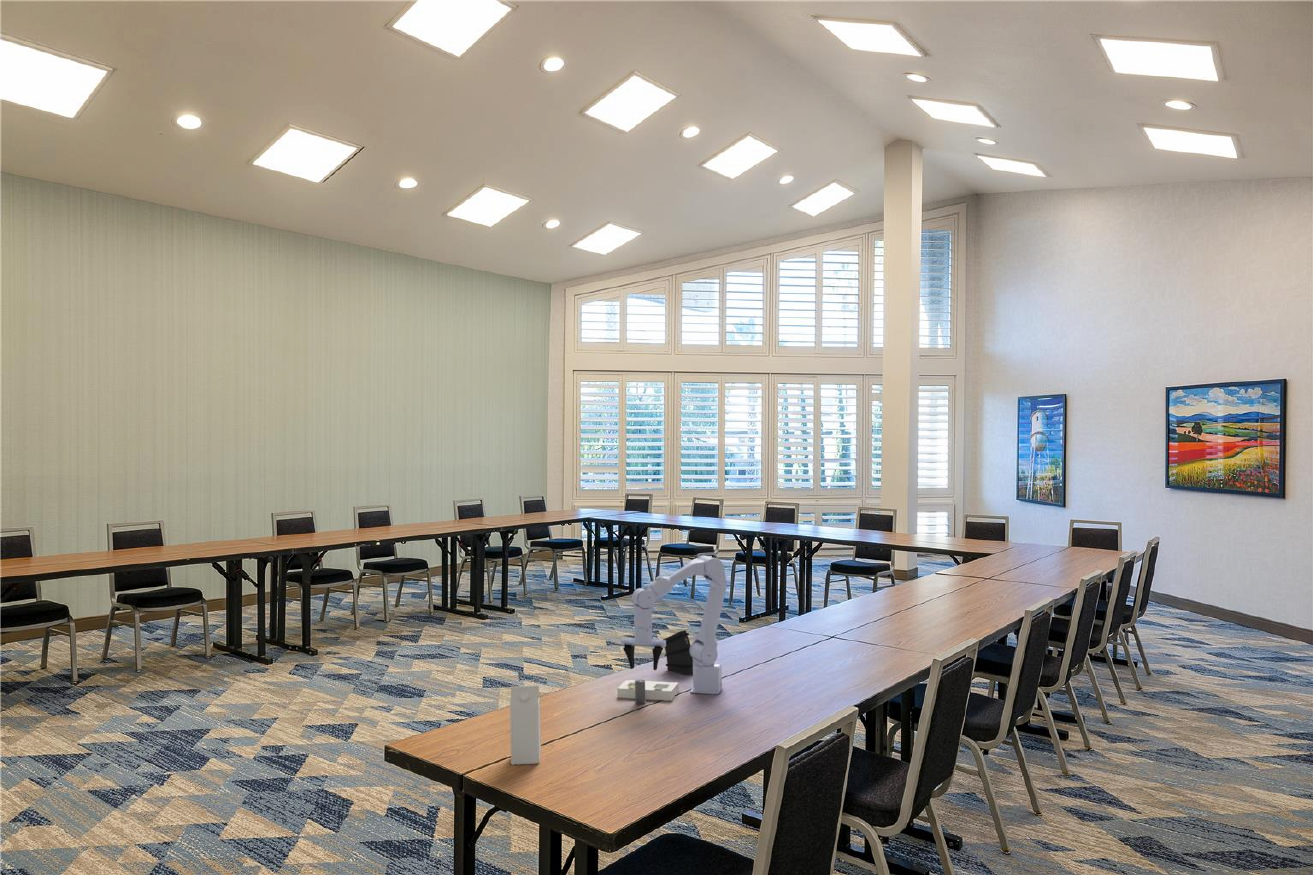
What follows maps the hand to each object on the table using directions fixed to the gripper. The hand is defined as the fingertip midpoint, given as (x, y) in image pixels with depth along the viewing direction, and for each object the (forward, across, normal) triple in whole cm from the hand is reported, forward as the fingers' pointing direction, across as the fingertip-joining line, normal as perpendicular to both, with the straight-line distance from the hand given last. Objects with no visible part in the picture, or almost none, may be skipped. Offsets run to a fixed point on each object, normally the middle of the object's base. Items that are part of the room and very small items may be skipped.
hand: (643, 668), depth 269 cm
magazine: (+10, +3, +34) cm, 36 cm away
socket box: (+10, 0, +4) cm, 10 cm away
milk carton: (+10, -16, -58) cm, 61 cm away
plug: (+10, 0, -5) cm, 11 cm away
